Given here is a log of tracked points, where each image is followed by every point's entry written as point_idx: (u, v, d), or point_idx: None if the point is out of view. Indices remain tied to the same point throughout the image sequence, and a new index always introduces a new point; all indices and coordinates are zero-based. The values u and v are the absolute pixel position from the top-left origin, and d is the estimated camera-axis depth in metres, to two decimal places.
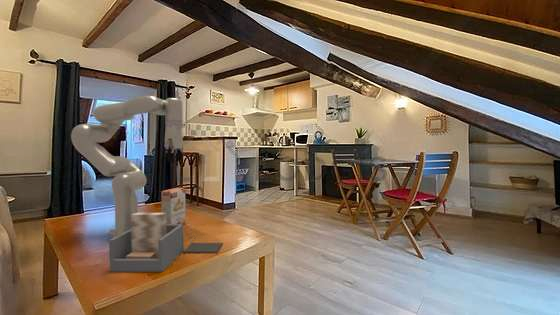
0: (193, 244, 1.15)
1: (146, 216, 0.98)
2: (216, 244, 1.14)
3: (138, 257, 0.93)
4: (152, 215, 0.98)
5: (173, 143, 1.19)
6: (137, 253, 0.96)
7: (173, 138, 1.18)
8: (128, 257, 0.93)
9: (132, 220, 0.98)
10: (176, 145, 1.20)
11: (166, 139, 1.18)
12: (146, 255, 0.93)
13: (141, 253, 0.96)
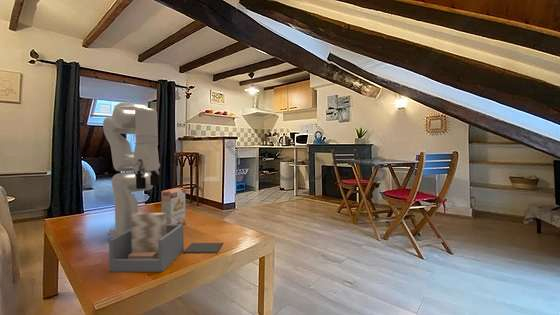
0: (193, 244, 1.15)
1: (146, 216, 0.98)
2: (216, 244, 1.14)
3: (140, 256, 0.93)
4: (152, 215, 0.98)
5: (144, 165, 0.94)
6: (138, 252, 0.96)
7: (144, 159, 0.94)
8: (130, 256, 0.93)
9: (132, 220, 0.98)
10: (149, 167, 0.96)
11: (135, 160, 0.94)
12: (148, 254, 0.94)
13: (143, 252, 0.96)
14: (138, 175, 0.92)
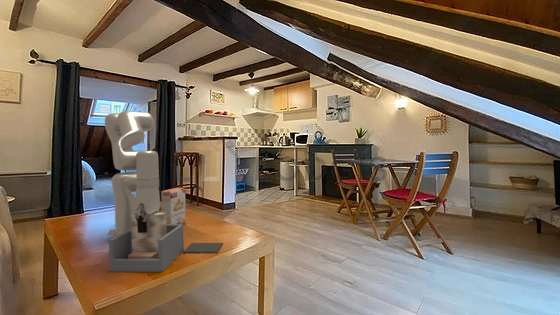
0: (193, 244, 1.15)
1: None
2: (216, 244, 1.14)
3: (139, 256, 0.93)
4: (152, 215, 0.98)
5: (145, 209, 0.94)
6: (139, 252, 0.96)
7: (145, 203, 0.94)
8: (130, 256, 0.94)
9: (132, 220, 0.98)
10: (150, 210, 0.96)
11: (137, 204, 0.94)
12: (147, 255, 0.93)
13: (144, 252, 0.96)
14: (139, 220, 0.92)
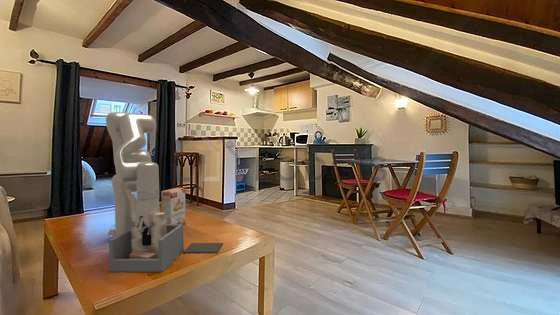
0: (193, 244, 1.15)
1: None
2: (216, 244, 1.14)
3: (139, 257, 0.93)
4: None
5: (145, 222, 0.95)
6: (140, 252, 0.97)
7: (145, 215, 0.94)
8: (131, 255, 0.94)
9: (132, 220, 0.98)
10: (150, 223, 0.96)
11: (137, 217, 0.94)
12: (146, 255, 0.93)
13: (144, 252, 0.96)
14: (144, 233, 0.96)
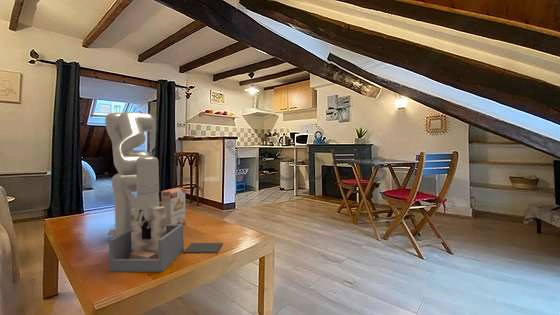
0: (193, 244, 1.15)
1: None
2: (216, 244, 1.14)
3: (139, 256, 0.93)
4: None
5: (145, 215, 0.95)
6: (141, 251, 0.97)
7: (145, 209, 0.95)
8: (131, 255, 0.95)
9: (132, 214, 0.98)
10: (149, 216, 0.96)
11: (136, 210, 0.94)
12: (146, 255, 0.93)
13: (145, 252, 0.96)
14: (144, 227, 0.96)
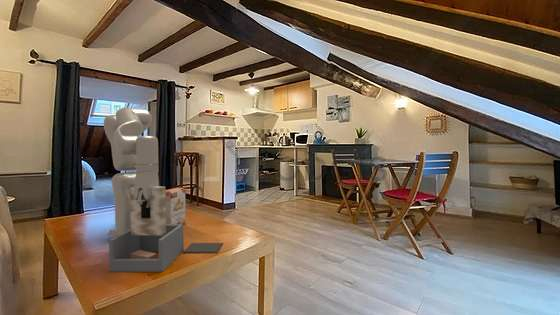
0: (193, 244, 1.15)
1: None
2: (216, 244, 1.14)
3: (139, 256, 0.94)
4: None
5: (145, 194, 0.94)
6: (142, 251, 0.97)
7: (145, 187, 0.94)
8: (132, 255, 0.95)
9: (131, 193, 0.98)
10: (149, 195, 0.96)
11: (136, 189, 0.94)
12: (146, 255, 0.94)
13: (146, 252, 0.97)
14: (143, 206, 0.96)
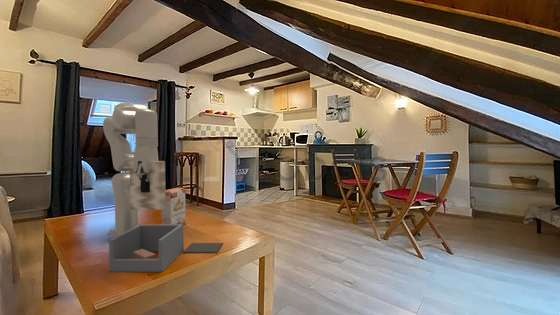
0: (193, 244, 1.15)
1: None
2: (216, 244, 1.14)
3: (139, 255, 0.94)
4: None
5: (144, 167, 0.94)
6: (143, 250, 0.98)
7: (144, 160, 0.94)
8: (134, 253, 0.96)
9: (131, 167, 0.98)
10: (148, 169, 0.96)
11: (135, 162, 0.94)
12: (145, 255, 0.94)
13: (146, 251, 0.97)
14: (142, 179, 0.95)
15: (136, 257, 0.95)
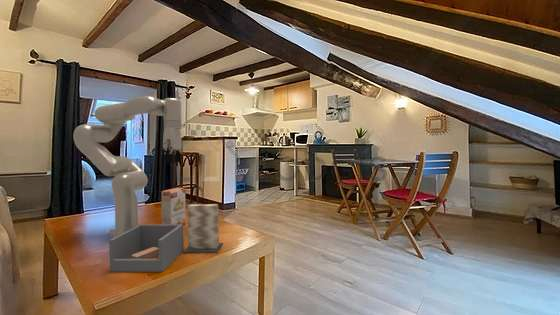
0: None
1: (201, 207, 1.09)
2: None
3: None
4: (207, 206, 1.09)
5: (171, 144, 1.17)
6: (153, 250, 0.98)
7: (171, 139, 1.17)
8: None
9: (189, 211, 1.10)
10: (174, 146, 1.18)
11: (164, 140, 1.17)
12: (137, 253, 0.95)
13: (148, 251, 0.97)
14: (167, 152, 1.15)
15: None
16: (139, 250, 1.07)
